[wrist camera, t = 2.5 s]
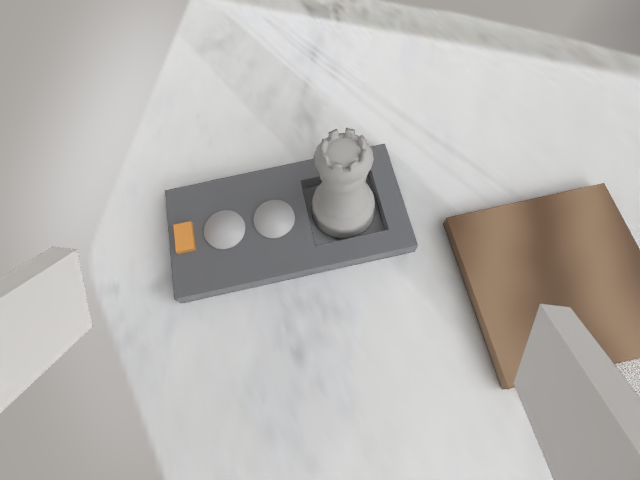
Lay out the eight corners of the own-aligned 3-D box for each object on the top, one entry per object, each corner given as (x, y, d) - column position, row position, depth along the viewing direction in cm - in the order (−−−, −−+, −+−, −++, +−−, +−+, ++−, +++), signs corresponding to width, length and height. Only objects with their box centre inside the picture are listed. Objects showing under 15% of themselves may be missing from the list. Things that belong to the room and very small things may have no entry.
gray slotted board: (383, 152, 31) (385, 140, 29) (414, 251, 28) (418, 242, 26) (171, 198, 30) (162, 187, 29) (181, 303, 27) (171, 297, 26)
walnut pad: (595, 190, 29) (604, 183, 28) (678, 347, 25) (691, 346, 24) (443, 223, 28) (446, 217, 27) (502, 389, 24) (508, 388, 23)
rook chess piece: (304, 193, 30) (292, 125, 22) (363, 177, 30) (370, 104, 23) (322, 249, 28) (314, 195, 21) (383, 230, 28) (398, 171, 21)
